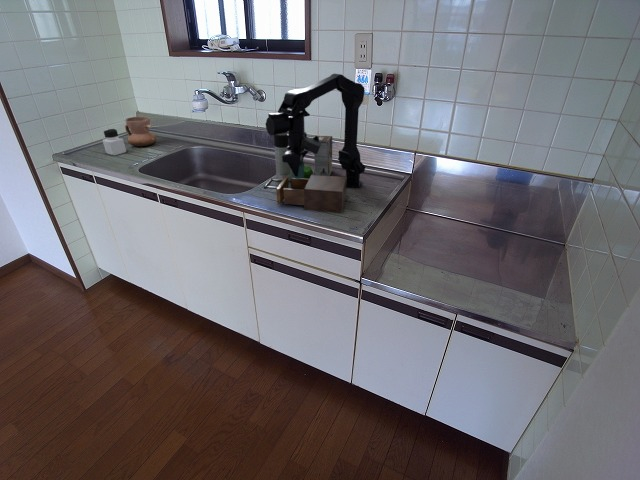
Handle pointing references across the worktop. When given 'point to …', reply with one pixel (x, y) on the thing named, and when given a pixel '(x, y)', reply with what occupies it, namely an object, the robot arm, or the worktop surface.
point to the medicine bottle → (113, 142)
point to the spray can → (280, 149)
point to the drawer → (289, 190)
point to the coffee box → (324, 157)
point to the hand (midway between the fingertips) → (297, 173)
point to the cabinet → (325, 193)
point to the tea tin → (301, 171)
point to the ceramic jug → (139, 131)
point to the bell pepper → (307, 172)
